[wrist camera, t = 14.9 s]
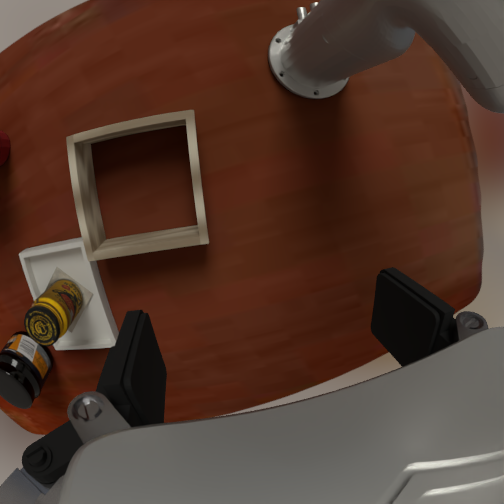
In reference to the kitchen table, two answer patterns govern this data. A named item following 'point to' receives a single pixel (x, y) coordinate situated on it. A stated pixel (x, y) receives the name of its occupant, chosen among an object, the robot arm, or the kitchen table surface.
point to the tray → (85, 273)
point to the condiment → (56, 309)
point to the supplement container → (23, 370)
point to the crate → (88, 195)
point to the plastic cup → (4, 147)
